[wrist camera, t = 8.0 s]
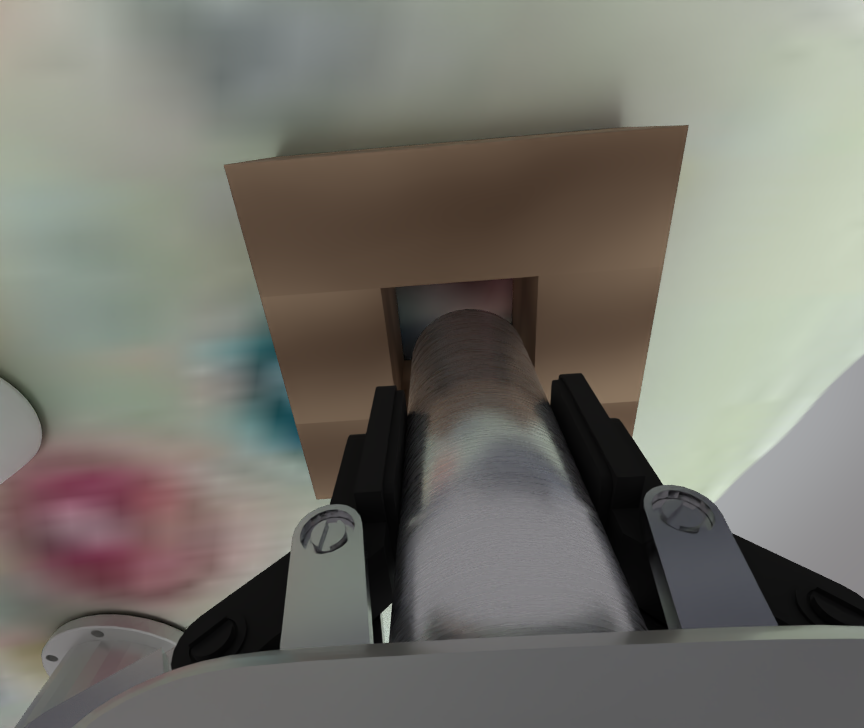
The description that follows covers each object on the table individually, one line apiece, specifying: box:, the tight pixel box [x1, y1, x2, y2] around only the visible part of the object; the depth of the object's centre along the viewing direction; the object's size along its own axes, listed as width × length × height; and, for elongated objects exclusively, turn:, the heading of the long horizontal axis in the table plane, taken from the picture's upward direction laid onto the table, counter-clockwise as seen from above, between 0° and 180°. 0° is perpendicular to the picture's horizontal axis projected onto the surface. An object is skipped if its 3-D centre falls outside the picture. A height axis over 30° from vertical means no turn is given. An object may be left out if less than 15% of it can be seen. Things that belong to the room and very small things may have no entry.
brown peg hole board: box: [224, 125, 689, 499], centre depth 18 cm, size 14×14×5 cm
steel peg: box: [389, 309, 648, 643], centre depth 10 cm, size 4×4×12 cm
